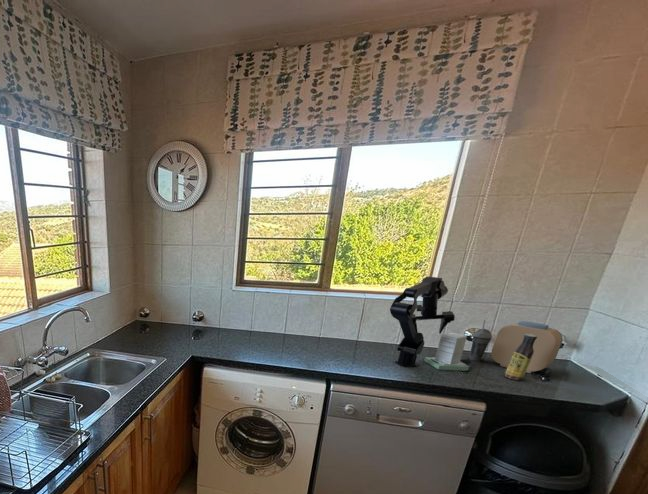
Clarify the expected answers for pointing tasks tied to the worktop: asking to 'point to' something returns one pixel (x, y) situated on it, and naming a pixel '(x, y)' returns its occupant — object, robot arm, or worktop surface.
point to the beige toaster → (543, 345)
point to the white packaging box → (450, 347)
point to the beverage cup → (480, 343)
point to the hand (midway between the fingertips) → (428, 334)
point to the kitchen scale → (446, 365)
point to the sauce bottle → (521, 358)
